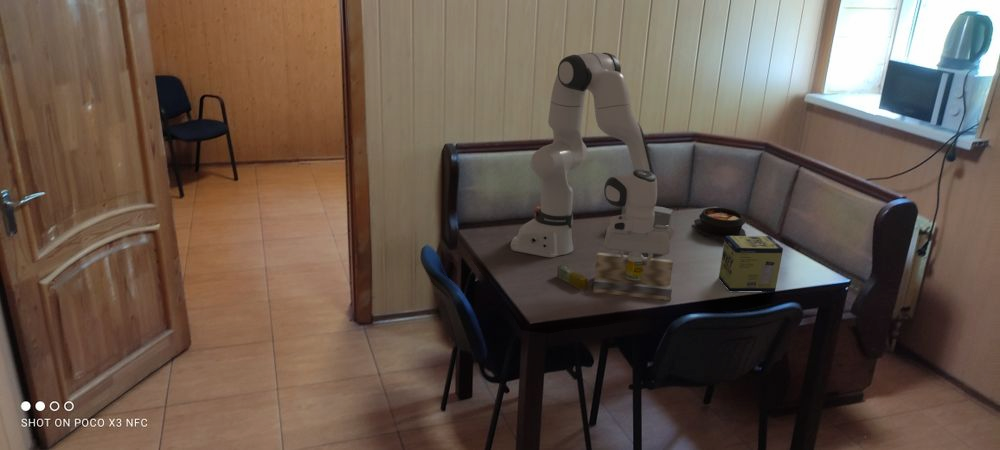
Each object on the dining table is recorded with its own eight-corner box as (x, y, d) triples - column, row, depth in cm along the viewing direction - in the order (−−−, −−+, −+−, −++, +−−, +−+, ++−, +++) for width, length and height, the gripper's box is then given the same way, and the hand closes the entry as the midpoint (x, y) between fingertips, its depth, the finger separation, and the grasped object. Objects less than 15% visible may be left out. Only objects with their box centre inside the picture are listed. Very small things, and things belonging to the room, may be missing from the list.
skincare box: (641, 251, 260) (646, 209, 254) (645, 244, 266) (650, 204, 260) (664, 255, 257) (670, 213, 251) (668, 248, 263) (673, 207, 258)
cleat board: (592, 291, 227) (595, 265, 224) (594, 277, 237) (597, 252, 234) (670, 300, 224) (674, 274, 220) (669, 285, 234) (672, 260, 231)
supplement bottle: (633, 272, 233) (636, 244, 229) (645, 278, 229) (648, 250, 225) (621, 275, 230) (624, 248, 227) (632, 282, 226) (635, 254, 222)
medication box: (556, 277, 237) (557, 266, 236) (562, 275, 239) (563, 264, 237) (581, 291, 228) (582, 279, 227) (587, 288, 230) (588, 277, 228)
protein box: (717, 278, 241) (724, 235, 235) (762, 278, 242) (770, 235, 236) (728, 292, 231) (736, 247, 225) (776, 292, 232) (784, 248, 227)
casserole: (682, 224, 288) (685, 204, 285) (723, 221, 293) (727, 201, 290) (714, 248, 266) (718, 226, 263) (759, 244, 270) (762, 224, 267)
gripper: (673, 222, 224) (668, 263, 229) (606, 216, 227) (603, 257, 232) (674, 229, 218) (668, 271, 223) (605, 223, 221) (602, 264, 226)
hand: (634, 264), depth 228 cm, fingers closed on supplement bottle, 5 cm apart
